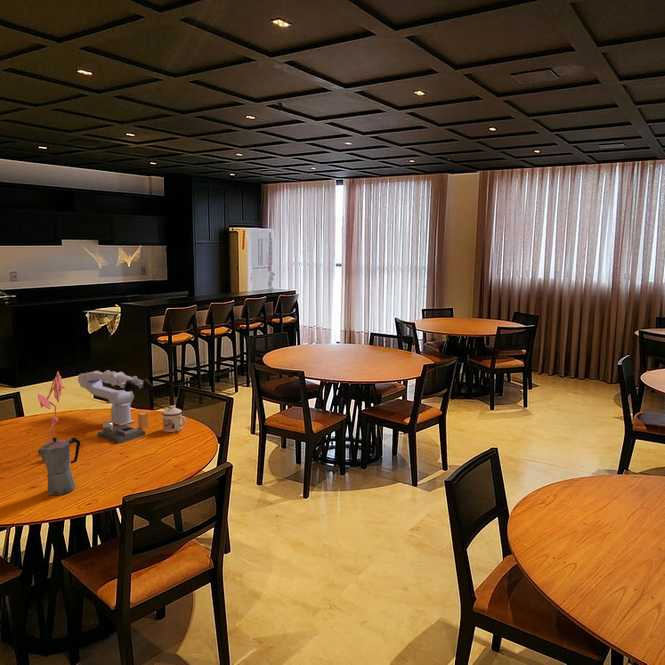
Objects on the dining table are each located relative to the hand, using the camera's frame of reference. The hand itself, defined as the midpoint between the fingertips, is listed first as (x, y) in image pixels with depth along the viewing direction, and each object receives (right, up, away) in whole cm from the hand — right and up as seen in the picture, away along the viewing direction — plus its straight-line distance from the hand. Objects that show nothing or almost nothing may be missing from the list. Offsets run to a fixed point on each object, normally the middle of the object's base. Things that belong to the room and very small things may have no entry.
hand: (145, 388), depth 272 cm
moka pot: (-10, -31, -63) cm, 70 cm away
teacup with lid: (+13, -20, +3) cm, 24 cm away
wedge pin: (-3, -20, +7) cm, 21 cm away
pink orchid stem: (-26, -25, -27) cm, 45 cm away
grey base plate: (-9, -21, -5) cm, 24 cm away
